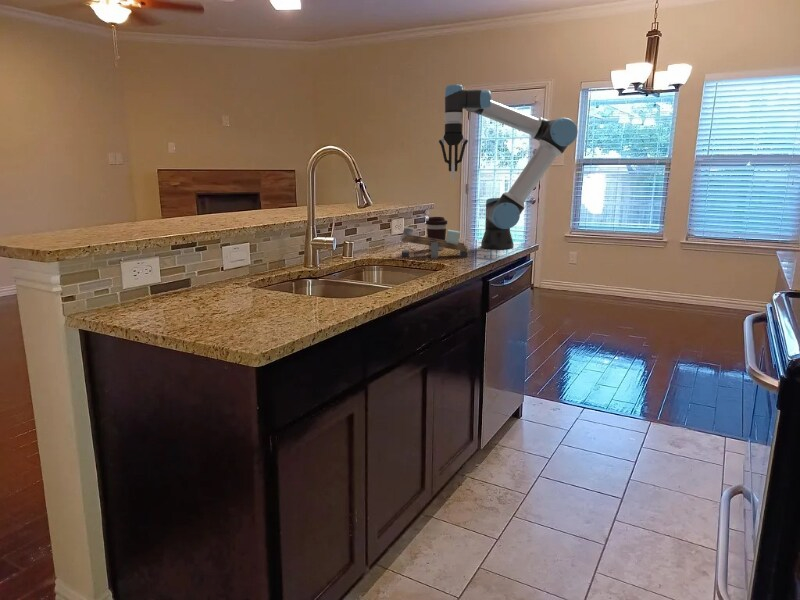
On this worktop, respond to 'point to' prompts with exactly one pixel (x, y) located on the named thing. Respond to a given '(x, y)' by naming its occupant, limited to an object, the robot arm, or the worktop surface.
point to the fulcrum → (433, 251)
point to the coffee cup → (436, 229)
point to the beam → (429, 240)
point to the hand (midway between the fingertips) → (452, 179)
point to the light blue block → (452, 237)
